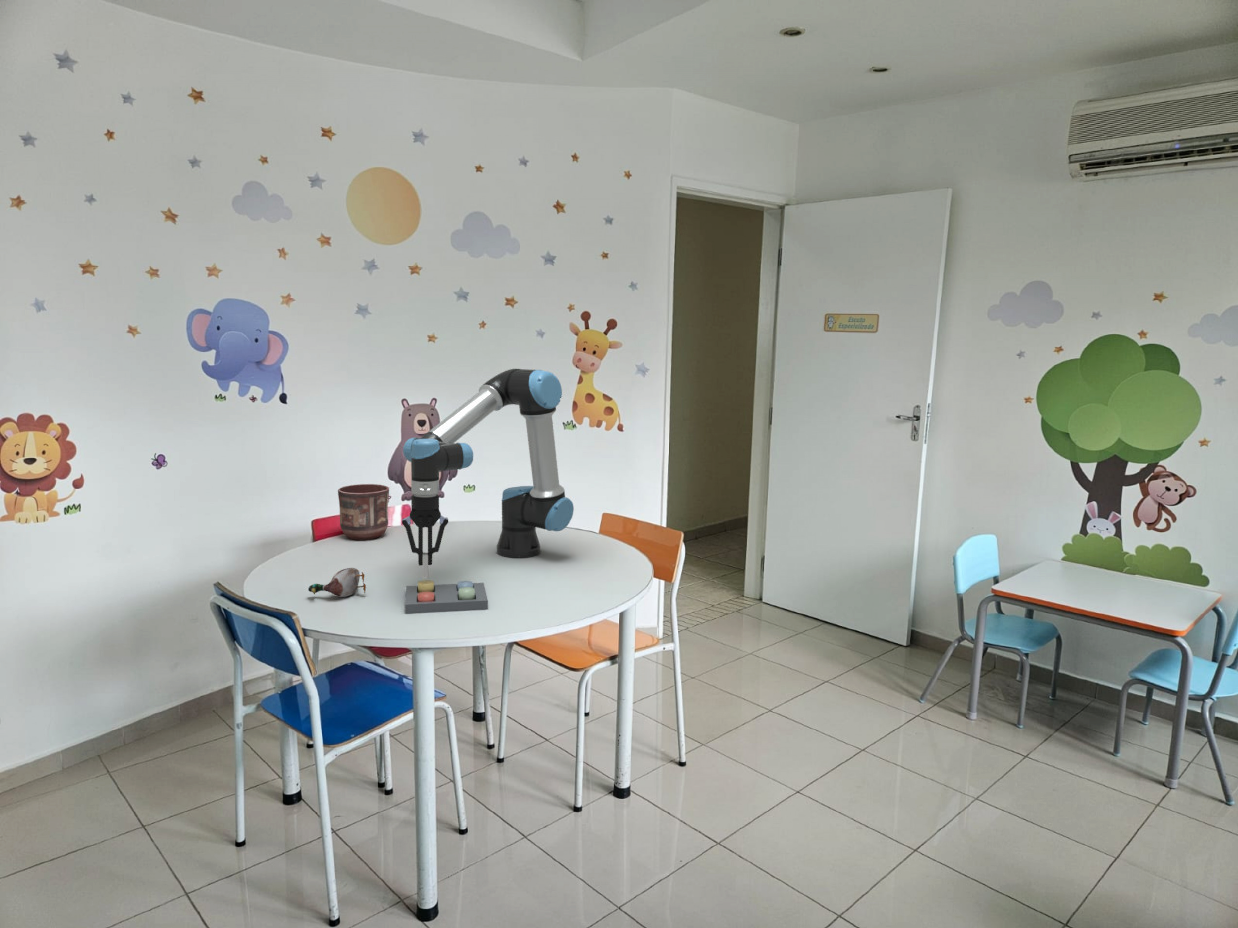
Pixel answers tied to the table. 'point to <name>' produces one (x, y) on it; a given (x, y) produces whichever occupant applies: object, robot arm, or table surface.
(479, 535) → the table surface
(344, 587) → the decorative duck model
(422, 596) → the red button
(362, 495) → the pottery
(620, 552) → the table surface
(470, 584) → the slate button
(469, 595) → the sage button
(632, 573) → the table surface
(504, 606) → the table surface
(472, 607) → the button panel
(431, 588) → the ochre button
